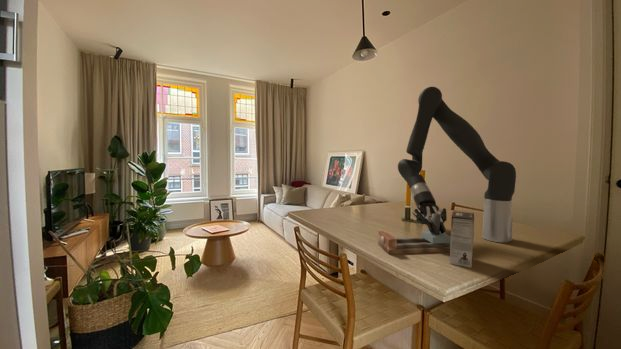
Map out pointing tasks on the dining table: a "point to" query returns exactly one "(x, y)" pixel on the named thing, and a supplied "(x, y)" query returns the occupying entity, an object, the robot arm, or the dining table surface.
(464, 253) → the coffee box
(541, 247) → the dining table surface
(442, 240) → the grey post blue base
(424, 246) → the rail
